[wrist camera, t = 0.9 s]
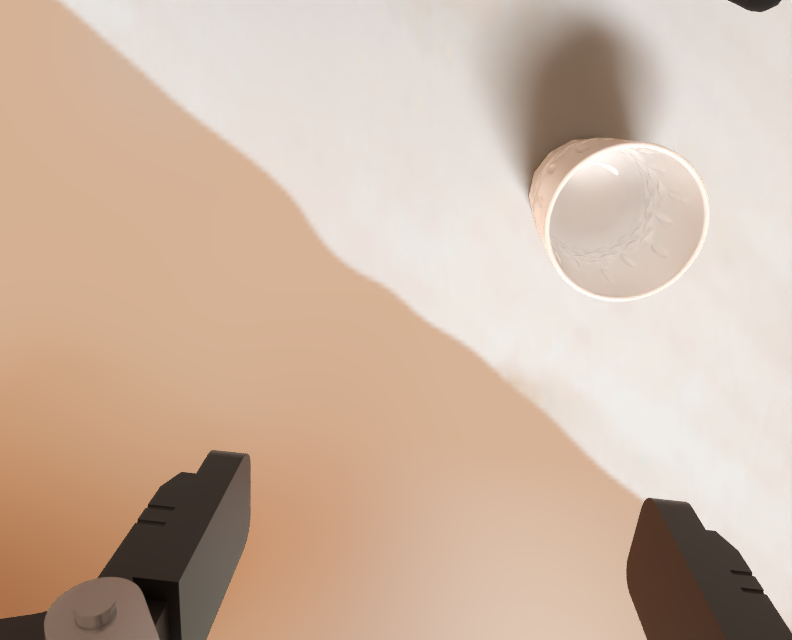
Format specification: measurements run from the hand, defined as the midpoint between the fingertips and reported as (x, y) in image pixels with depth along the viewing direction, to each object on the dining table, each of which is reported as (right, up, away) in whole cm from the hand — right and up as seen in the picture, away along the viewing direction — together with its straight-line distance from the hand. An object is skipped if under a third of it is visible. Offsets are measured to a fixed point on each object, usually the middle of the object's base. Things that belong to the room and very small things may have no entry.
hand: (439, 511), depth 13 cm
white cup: (+11, +12, +27) cm, 32 cm away
